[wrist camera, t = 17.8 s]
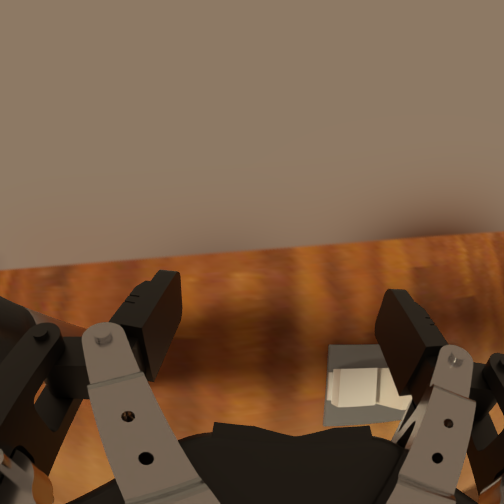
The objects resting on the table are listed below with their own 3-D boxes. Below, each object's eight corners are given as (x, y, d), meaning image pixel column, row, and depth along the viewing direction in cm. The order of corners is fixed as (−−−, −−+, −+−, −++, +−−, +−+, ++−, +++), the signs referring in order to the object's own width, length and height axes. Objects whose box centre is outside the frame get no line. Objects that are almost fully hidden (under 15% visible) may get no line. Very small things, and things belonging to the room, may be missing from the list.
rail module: (371, 402, 34) (406, 411, 24) (373, 368, 36) (408, 366, 26) (401, 399, 34) (442, 404, 23) (403, 366, 35) (444, 362, 25)
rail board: (322, 425, 35) (331, 433, 29) (328, 345, 39) (338, 341, 34) (429, 413, 33) (448, 417, 28) (432, 342, 38) (451, 337, 33)
